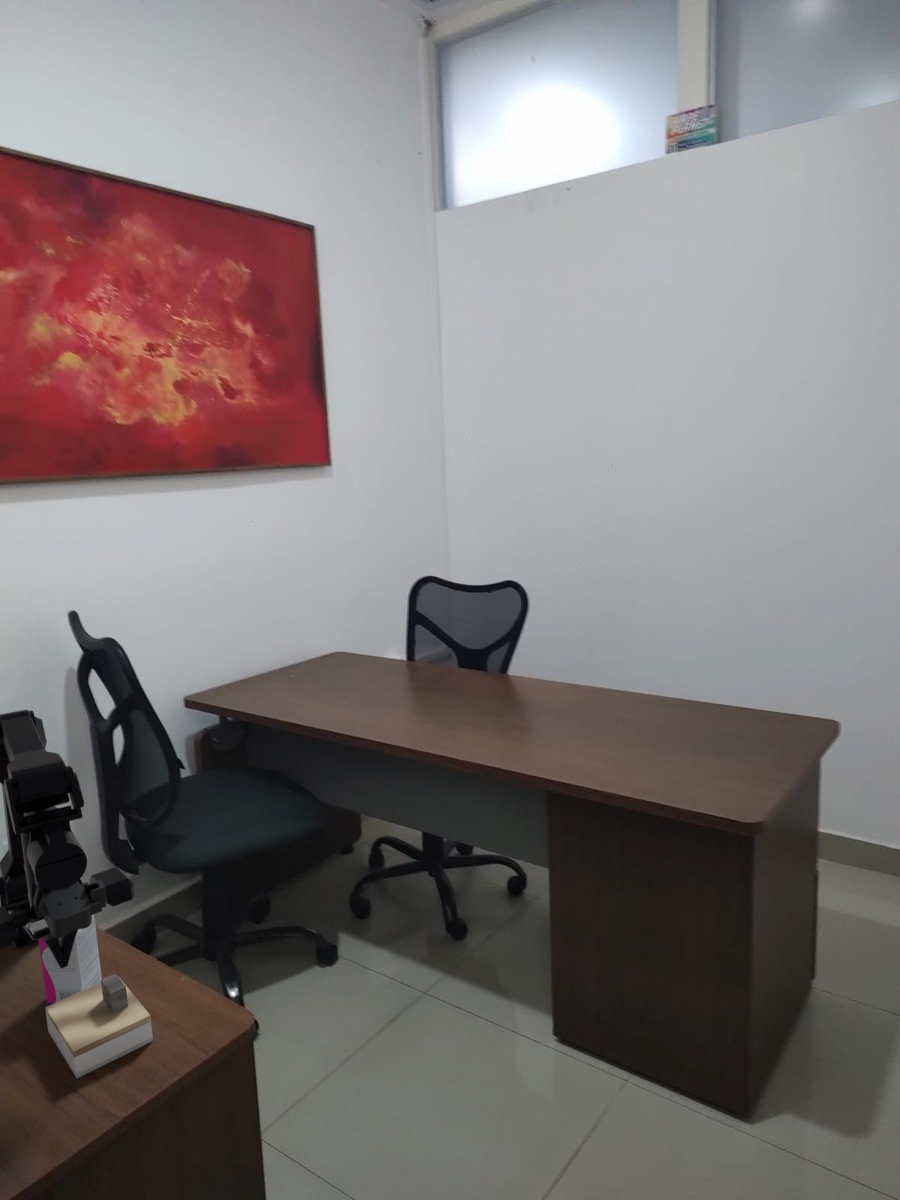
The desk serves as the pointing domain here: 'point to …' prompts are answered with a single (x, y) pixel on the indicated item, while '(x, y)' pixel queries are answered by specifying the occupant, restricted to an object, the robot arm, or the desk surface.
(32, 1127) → the desk surface
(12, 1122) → the desk surface
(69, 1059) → the white storage tray
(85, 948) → the supplement box
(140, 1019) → the lid
